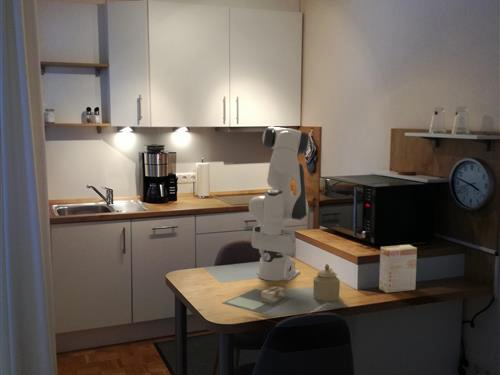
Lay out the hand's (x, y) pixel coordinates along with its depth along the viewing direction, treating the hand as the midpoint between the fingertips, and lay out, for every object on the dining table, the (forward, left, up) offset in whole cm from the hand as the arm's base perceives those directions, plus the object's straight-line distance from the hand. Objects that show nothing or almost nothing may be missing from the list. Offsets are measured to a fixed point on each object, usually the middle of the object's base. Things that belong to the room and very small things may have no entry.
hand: (273, 261), depth 239 cm
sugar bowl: (-18, +15, -17) cm, 29 cm away
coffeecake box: (-47, +36, -17) cm, 62 cm away
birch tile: (0, 0, -16) cm, 16 cm away
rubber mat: (+5, -4, -17) cm, 18 cm away
